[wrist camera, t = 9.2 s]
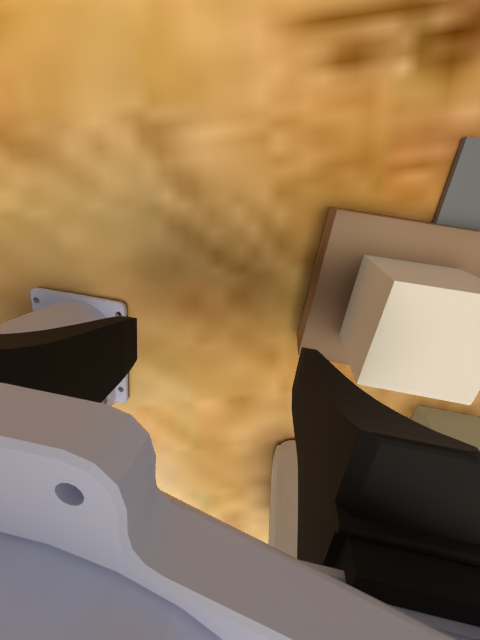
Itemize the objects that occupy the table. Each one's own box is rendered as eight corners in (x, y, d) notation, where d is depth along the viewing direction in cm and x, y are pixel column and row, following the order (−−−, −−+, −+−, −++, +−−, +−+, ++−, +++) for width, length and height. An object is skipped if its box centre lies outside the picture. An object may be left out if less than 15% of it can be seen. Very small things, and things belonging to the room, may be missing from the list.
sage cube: (457, 465, 23) (501, 527, 19) (395, 452, 24) (422, 510, 19) (484, 417, 22) (539, 472, 17) (416, 404, 22) (452, 454, 17)
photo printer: (313, 522, 28) (334, 738, 16) (269, 516, 28) (260, 720, 17) (322, 440, 24) (358, 640, 13) (272, 435, 25) (263, 623, 13)
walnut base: (419, 357, 21) (439, 383, 18) (296, 333, 21) (298, 354, 19) (482, 230, 17) (519, 238, 14) (329, 206, 17) (337, 209, 15)
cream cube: (422, 349, 17) (470, 405, 13) (339, 334, 18) (356, 383, 13) (459, 268, 15) (533, 302, 11) (363, 254, 15) (394, 280, 11)
